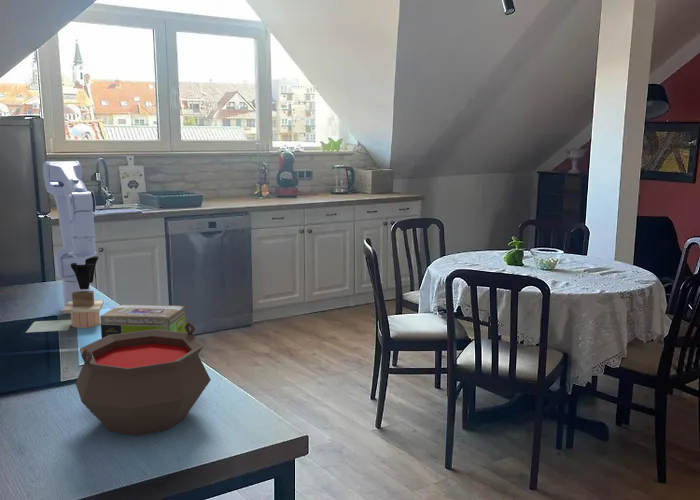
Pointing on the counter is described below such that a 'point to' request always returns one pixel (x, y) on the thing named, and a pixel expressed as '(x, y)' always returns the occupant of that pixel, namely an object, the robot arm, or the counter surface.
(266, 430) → the counter surface
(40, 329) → the mat
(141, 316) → the tea box
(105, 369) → the brown cauldron
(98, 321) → the cup
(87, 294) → the lid
